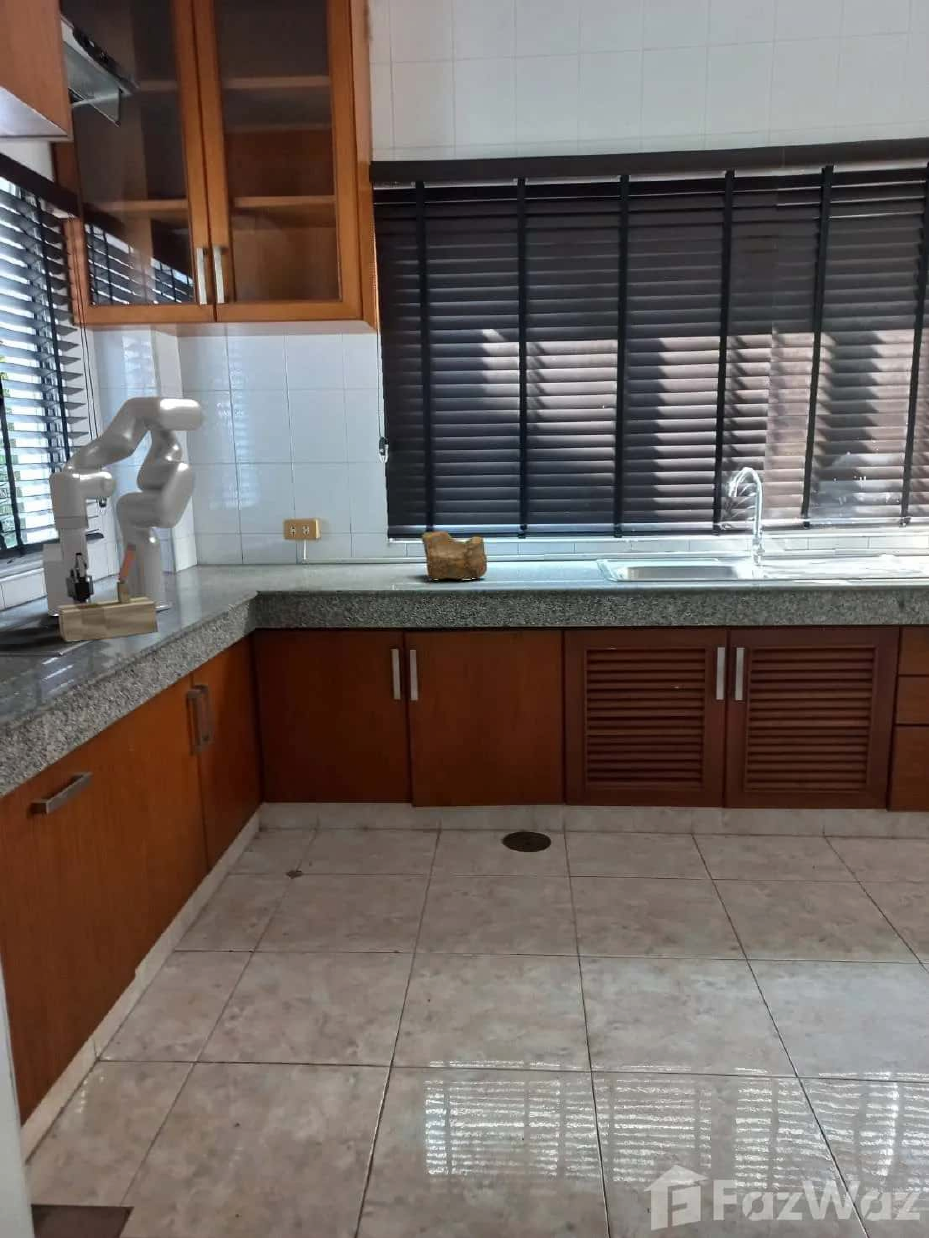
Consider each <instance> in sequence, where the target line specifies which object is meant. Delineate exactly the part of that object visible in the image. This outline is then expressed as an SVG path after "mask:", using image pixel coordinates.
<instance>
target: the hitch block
mask: <svg viewBox="0 0 929 1238" xmlns="http://www.w3.org/2000/svg"><path fill="white" fill-rule="evenodd" d="M115 584H116V591H117V592H116V593H117V599H113V600H104V601H95V602H94V601H93V602H91V603H83V604H74V605H64V606H58V615H59V617H58V622H59V629H60V631H59V632H60V636H61V637H62V638H63V640H64V641H65V642H66V641H67V642H70V641H74V640H81V639H95V640H101V639H110V638H116V637H117V638H118V637H123V636H124V637H127V636H133V635H141V634H142V633H143V634H150V633H157V632H159V628H158V616H157V615H158V614H157V611H156V604H155V602H153V601H151V600H150V599H148V598H146V597H140V598H131V599H130V591H129V583H127V582H126V583H122V582H121V581H117V582H116V583H115ZM149 632H150V633H149ZM67 642H66V643H67Z"/></svg>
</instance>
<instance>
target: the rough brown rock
mask: <svg viewBox="0 0 929 1238" xmlns="http://www.w3.org/2000/svg"><path fill="white" fill-rule="evenodd" d="M421 542H422V544H423V547H424V554H425V558H426V562H425V563H426V569H427V574H428V580H429V579H431V580H435V579H441V580H444V579H454V580H455V579H456V580H459V579H472V578H477V579H479V578H478V577H480V578H481V577H483V576H484V575H485V574H486V573H487V571H488V564H487V561H488V557H487V555H486V553H485V542H484V538H483V537H480V536H472V537H471V538H469V539H467V540H466V541H462V540H456V539H454V538H453V537H452V536H451V535H450V534H449V533H448V532H447V531H443V530H439V531H438V530H437V531H434V532H432V531H429V532H425V533H423V534H422V536H421Z"/></svg>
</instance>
